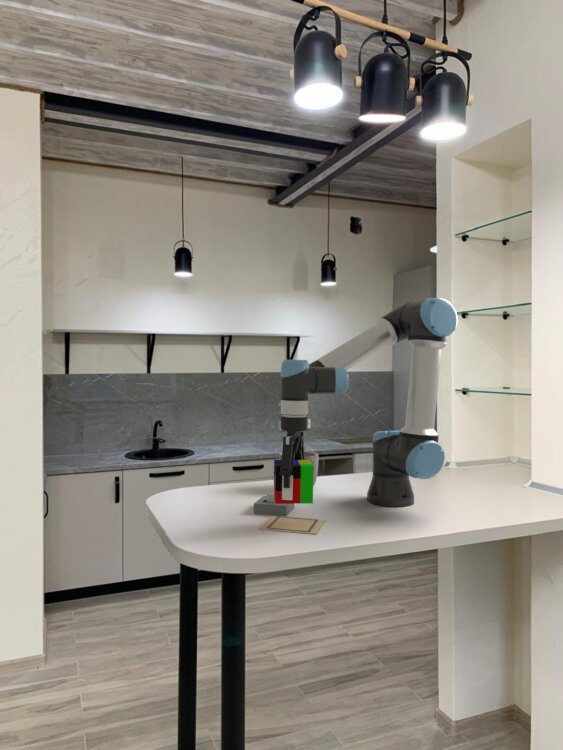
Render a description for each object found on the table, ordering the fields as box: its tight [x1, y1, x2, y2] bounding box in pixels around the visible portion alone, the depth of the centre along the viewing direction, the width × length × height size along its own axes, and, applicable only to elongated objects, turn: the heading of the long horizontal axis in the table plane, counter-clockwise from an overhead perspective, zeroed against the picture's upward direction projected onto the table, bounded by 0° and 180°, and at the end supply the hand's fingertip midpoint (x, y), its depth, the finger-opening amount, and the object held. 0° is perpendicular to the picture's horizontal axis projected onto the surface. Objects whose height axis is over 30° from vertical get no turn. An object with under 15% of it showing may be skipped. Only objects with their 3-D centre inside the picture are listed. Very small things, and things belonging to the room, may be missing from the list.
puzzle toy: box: [273, 459, 314, 505], centre depth 151 cm, size 10×10×10 cm
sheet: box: [257, 515, 327, 535], centre depth 151 cm, size 16×13×1 cm
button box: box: [253, 495, 295, 517], centre depth 166 cm, size 10×10×3 cm
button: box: [265, 491, 275, 503], centre depth 166 cm, size 5×5×4 cm
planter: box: [278, 450, 320, 487], centre depth 192 cm, size 14×14×13 cm
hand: (292, 494), depth 151 cm, fingers closed on puzzle toy, 12 cm apart
